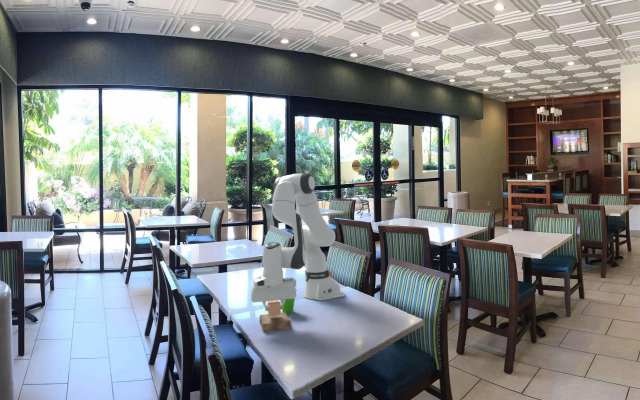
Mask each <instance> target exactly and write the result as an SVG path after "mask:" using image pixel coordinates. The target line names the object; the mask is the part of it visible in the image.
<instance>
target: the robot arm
mask: <svg viewBox="0 0 640 400" xmlns="http://www.w3.org/2000/svg"><path fill="white" fill-rule="evenodd" d="M315 188H316V180H315V176H314V175H312V174H311V173H308V172H302V173H292V174H287V175H281V176H279V177H276V178H275V179H274V182H273V196H272V204H271V214H272V216H273V217H274V219H275V220H277V221H278V222H280V223H282V224H284V225H288V226H289V227H291V228H292V229H293V239H294V241H293V242H294V246H292V247H291V246H290V247H288V246H282V245H281V243H279V242H276V241H270V242H268V243H265V244H264V245H263V250H262V266H263V271H262V274H261V275H260V276H257V277H255V278H253V279H252V286H251V290H250V301H251V302H252V303H262V304H263V307H264V310H265V312H268V311H269V307H268V305H267V302H268V301H275V300H279V301H280V300H282V303H281V302H280V309H281V310H282V309H283V305H284V303H285V299H294V298H295V299H296V298H297V289H296V287H297V280H296V278H293V277H287V278H286V277H284V270H283V269H291V270H301V269H302V268H303V267H305V270H304V272H305V273H304V281H305V286H304V293H303V295H302V296H303V297H304V298H305V299H309V300H316V301H325V300H332V299H338V298H342V297H345V292H344V290H342V289H341V286H340V284H339V282H338V281H336V280H335V279H334V278H333V277H331V276H332V275H333V272H332V271H331V270H330V271H329V270H328V269H327V263H326V261H327V258H326V254H325V253H324V252H323V251H322V249H321V247H330V246H332V245H333V244H334V243H335V241H336V233H335V231H334V229H333V228H331V227H330V226H329V225H328V224H327V222H326V220H325V219H324V217H323V215H322V213H321V210H320V206H319V203H318V199H317V196H316V192H315ZM296 207H297V210H296ZM297 212H298V213H297ZM303 222H304V223H305V224H303Z"/></svg>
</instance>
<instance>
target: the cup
mask: <svg viewBox="0 0 640 400" xmlns="http://www.w3.org/2000/svg"><path fill="white" fill-rule="evenodd" d="M295 300H296V297H295V298H294V299H285V303H284V305H283V309H281V311H282V312H286V314H287V315H289V314H292V313H294V307H295ZM279 302H280V304H281V303H282V300H279Z"/></svg>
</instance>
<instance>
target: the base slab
mask: <svg viewBox="0 0 640 400" xmlns="http://www.w3.org/2000/svg"><path fill="white" fill-rule="evenodd" d="M259 324H260V326H261V330H262V332H263V333H269V332H270V333H271V332H277V331H278V332H279V331H284V330H291V326H292V325H291V319H290V318H289V316H288V314H286V312H283V311H282V312H281V315H272V316H269V314H268V313H263V314H259Z"/></svg>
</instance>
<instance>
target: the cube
mask: <svg viewBox="0 0 640 400" xmlns="http://www.w3.org/2000/svg"><path fill="white" fill-rule="evenodd" d="M280 305H281V301H280V300H274V301H267V306H268V307H269V311H267V314H269V316H272V315H281V313H282V312H281V311H282V309H280Z"/></svg>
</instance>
